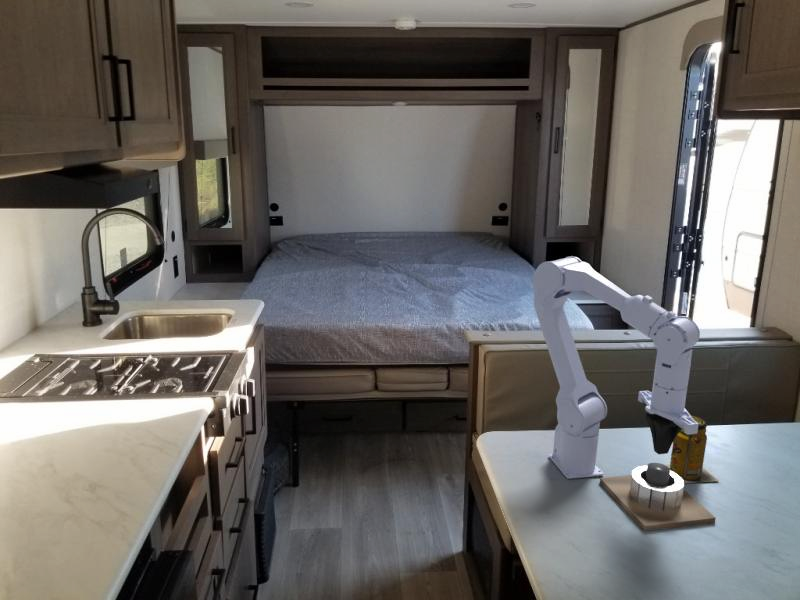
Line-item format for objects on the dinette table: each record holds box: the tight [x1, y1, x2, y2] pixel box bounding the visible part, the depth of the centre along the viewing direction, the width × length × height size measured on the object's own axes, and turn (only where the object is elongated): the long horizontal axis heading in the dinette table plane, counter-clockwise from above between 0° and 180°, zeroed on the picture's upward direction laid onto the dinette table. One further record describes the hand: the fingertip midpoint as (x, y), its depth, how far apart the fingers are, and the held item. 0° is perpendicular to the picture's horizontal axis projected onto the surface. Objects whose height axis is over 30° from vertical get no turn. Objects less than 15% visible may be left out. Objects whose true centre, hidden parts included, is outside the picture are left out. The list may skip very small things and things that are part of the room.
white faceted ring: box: [630, 465, 685, 511], centre depth 120 cm, size 9×9×4 cm
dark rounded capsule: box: [645, 462, 670, 487], centre depth 120 cm, size 4×4×6 cm
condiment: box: [665, 415, 720, 484], centre depth 129 cm, size 7×8×12 cm
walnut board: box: [599, 474, 717, 532], centre depth 120 cm, size 16×14×1 cm
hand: (661, 452), depth 118 cm, fingers closed
